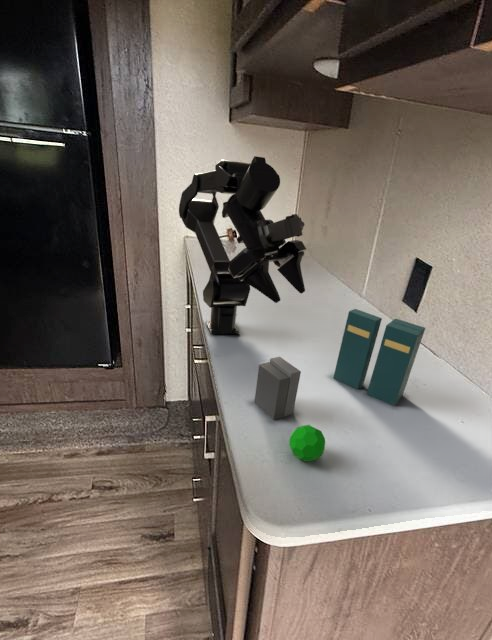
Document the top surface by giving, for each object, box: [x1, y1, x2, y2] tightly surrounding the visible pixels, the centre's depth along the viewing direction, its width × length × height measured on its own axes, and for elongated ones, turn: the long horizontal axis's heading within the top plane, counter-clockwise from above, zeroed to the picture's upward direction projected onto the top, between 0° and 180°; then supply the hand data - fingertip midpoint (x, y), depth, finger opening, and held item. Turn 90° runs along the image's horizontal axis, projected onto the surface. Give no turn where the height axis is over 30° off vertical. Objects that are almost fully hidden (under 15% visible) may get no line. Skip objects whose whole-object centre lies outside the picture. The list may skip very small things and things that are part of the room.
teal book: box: [332, 308, 383, 390], centre depth 74 cm, size 6×2×14 cm, turn 52°
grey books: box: [253, 356, 302, 421], centre depth 64 cm, size 6×4×8 cm
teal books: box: [366, 318, 426, 406], centre depth 72 cm, size 6×5×14 cm
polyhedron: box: [288, 424, 326, 462], centre depth 55 cm, size 5×5×5 cm
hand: (291, 296), depth 75 cm, fingers open, 9 cm apart
